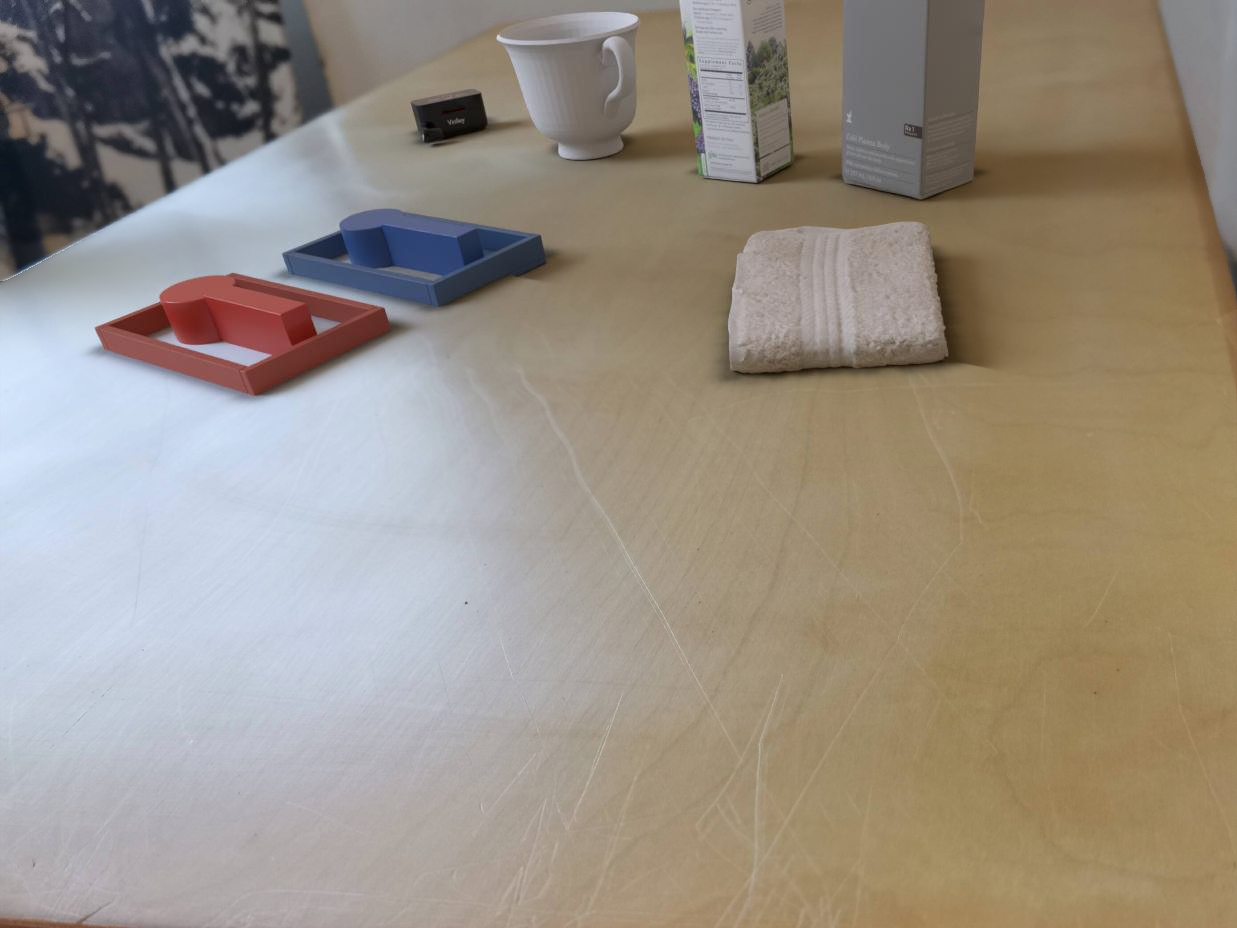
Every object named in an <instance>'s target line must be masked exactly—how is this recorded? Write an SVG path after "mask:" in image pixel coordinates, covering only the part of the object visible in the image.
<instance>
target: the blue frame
mask: <svg viewBox="0 0 1237 928" xmlns="http://www.w3.org/2000/svg"><path fill="white" fill-rule="evenodd" d="M403 212H404V214H405V216H407V217H413V218H418V219H424V220H430V221H436V222H442V223H448V224H454V225H460V226H466V227H472V228H477V230H478V234H479V238H480V242H481V246H482V250H483V254H484V257H483V258H481V259H479V260H477V261H475V262H473V263H470V264H468V265H466V266H464V267H462V268H460V269H457V270H455V271H453V272H451V273H449V274H447V275H444V276H442V275H441V276H440V277H438V278H436V279H434V280H431V279H429V278H428V279H427V278H422V277H417V276H413V275H409V274H404V273H400V272H399V273H398V272H393V271H390V270H389V271H388V270H384V269H380V268H377V269H375V268H370V267H365V266H360V265H355V264H351V262H345V261H341V260H335V259H336V258H337V257H340V256H343V255H344V254H348V252H347V249H346V245H345V242H344V239H343V236H342V233H341V230H340V229H339V230H337V231H335V232H332V233H330V234H327V235H324V236H322V237H320V238H317V239H315V240H312V241H309V242H307V243H304V244H301V245H299V246H297V247H294V248H291V249H289V250H286V251H284V252H282V253H281V256H282V258H283V260H284V264H285V267H286V270H287V272H288V274H289V275H293V276H298V277H302V278H307V279H312V280H316V281H320V282H325V283H329V284H334V285H338V286H343V287H347V288H352V289H356V290H362V291H366V292H371V293H375V294H379V295H383V296H388V297H393V298H397V299H402V300H407V301H411V302H416V303H420V304H424V305H428V306H433V307H438V308H439V307H442V306H444V305H446V304H448V303H449V302H452V301H454V300H456V299H458V298H461V297H462V296H464V295H466V294H468V293H470V292H472V291H474V290H477V289H479V288H481V287H484V286H485V285H487V284H489V283H491V282H493V281H495V280H498V279H499V278H502V277H504V276H505V275H506V276H512V277H519V276H521V275H522V274H525V273H527V272H529V271H531V270H533V269H536V268H537V267H539V266H541V265H543V264H545V263H547V258H546V253H545V247H544V243H543V238H542V235H541V234H540V233H539V234H538V233H532V232H527V231H520V230H515V229H507V228H502V227H495V226H490V225H485V224H484V225H483V224H479V223H472V222H466V221H461V220H455V219H450V218H443V217H437V216H431V215H425V214H419V213H413V212H408V211H403Z"/></svg>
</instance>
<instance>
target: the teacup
mask: <svg viewBox="0 0 1237 928" xmlns="http://www.w3.org/2000/svg"><path fill="white" fill-rule="evenodd" d="M641 24H642V19H640V17H638V16H637V15H635V14H633V13H628V12H621V11H589V12H588V11H587V12H576V13H566V14H557V15H551V16H544V17H539V18H534V19H531V20H530V19H529V20H525V21H521V22H518V23H514V24H512V25H509V26H506V27H504V28H502V29H501V30H499V32H498V34H497V36H496V40H497V42H499V43H500V44H501V45H503V46H504V48H505V50H506V51H507V53H508V55H509V57H510V61H511V63H512V66H513V69H514V71H515V75H516V77H517V81H518V83H519V87H520V90H521V94H522V96H523V99H524V102H525V106H526V108H527V111H528V113H529V116H530V118H531V120H532V122H533V124H534V126H535V127H536V129H537V130H538V132H540V133H541V134H542V135H543V136H545V137H546V138H548V139H549V140H552V141H554V142H556V143H557V145H558V151H557V152H558V156H560V157H561V158H562V159H565V160H571V161H572V160H573V161H586V160H595V159H601V158H607V157H609V156H612V155H615V154H617V153H619V152H621V151H622V150H623V148H624V142H623V140H622V136H621V134H622V133H623V132H625V131H626V130H627V129H628V128H629V127H630V125H631V124H632V123H633V121H634V119H635V117H636V116H635V115H636V111H637V100H638V99H637V98H638V97H637V96H638V91H637V65H636V37H637V32H638V28H639V27H640V26H641Z"/></svg>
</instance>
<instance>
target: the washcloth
mask: <svg viewBox="0 0 1237 928" xmlns="http://www.w3.org/2000/svg"><path fill="white" fill-rule="evenodd" d="M932 246H933V244H932V236H931V232H930V227H929V226H927V225H926V224H924V223H923V222H920V221H896V222H891V223H885V224H878V225H873V226H862V227H859V228H837V227H826V226H812V225H803V226H799V227H789V228H785V229H775V230H760V231H756V232H755V233H753V234H752V235H750V237H749V238H748V240H747V242H746V244H745V245H744V247H743V248H744V249H743V252H739V253H738V254H737V255H736V268H735V276H734V281H733V285H732V287H731V288H732V289H731V296H732V297H731V298H732V299H731V305H730V310H729V313H728V320H727V331H728V339H729V342H728V350H729V365H730V366H729V368H730V370H731V371H734V372H739V373H743V374H747V373H749V374H764V373H782V372H799V371H801V370H805V369H806V370H808V369H816V368H817V369H827V368H834V369H835V368H841V367H852V368H853V369H861V368H873V367H885V366H895V365H896V366H907V365H910V364H913V365H914V364H915V365H921V364H931V363H936V362H939V361H943V360H944V359H945V358H948V357H949V350H948V345H947V344H948V342H947V340H946V337H945V331H946V326H945V324H944V317H943V315H942V310H943V308H942V302H941V297H940V296H939V291H938V284H937V283H938V281H939V280H938V276H939V275H938V274H937V273H936V267H935V265H936V264H935V260H934V256H933V254H934V253H933V252H934V251H933V247H932Z"/></svg>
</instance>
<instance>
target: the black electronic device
mask: <svg viewBox="0 0 1237 928" xmlns="http://www.w3.org/2000/svg"><path fill="white" fill-rule="evenodd" d="M410 105H411V109H412V113H413V117H414V120H415V124H416V128H417V132H418V134H419V135H420V139H421V142H423V144H432V143H435V142H438V141H441V140H442V139H445V138H450V137H455V136H458V135H462V134H466V133H472V132H477V131H480V130H484V129H486V128H488V126H489V121H488V120H489V119H488V117H487V116H488V115H487V112H486V106H485V103H484V98H483V94H482V92H481V91H480V90H479V89H476V88H467V89H462V90H457V91H453V92H452V91H451V92H448V93H444V94H437V95H432V96H427V97H423V98H417V99H413V100H411V101H410Z"/></svg>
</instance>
